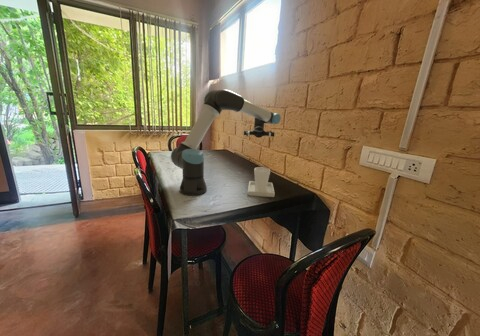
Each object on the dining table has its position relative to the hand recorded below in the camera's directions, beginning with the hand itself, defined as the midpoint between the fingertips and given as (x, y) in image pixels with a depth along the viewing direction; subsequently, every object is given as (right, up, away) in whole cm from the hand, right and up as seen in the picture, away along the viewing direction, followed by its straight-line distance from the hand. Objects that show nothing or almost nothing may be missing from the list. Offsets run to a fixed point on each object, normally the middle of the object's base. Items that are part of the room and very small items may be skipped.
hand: (259, 134), depth 126 cm
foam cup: (0, -34, -5) cm, 35 cm away
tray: (0, -34, -4) cm, 35 cm away
